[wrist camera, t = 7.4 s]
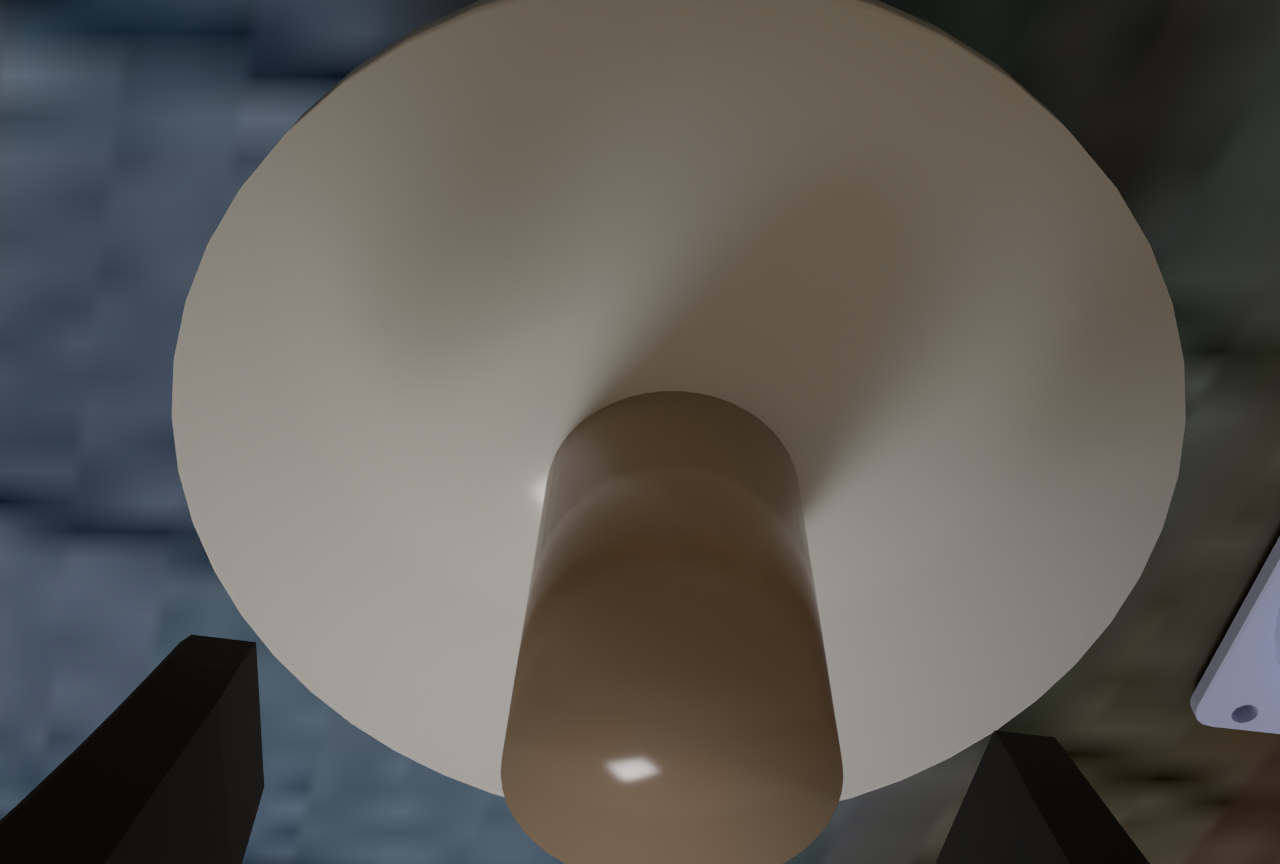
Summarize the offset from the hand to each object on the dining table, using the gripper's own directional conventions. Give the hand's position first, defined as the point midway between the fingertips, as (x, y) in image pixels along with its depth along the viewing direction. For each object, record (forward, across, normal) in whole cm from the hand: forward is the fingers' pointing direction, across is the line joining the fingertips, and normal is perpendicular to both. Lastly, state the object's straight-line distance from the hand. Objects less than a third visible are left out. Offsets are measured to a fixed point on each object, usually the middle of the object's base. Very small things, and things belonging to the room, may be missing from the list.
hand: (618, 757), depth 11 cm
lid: (+5, 0, 0) cm, 5 cm away
